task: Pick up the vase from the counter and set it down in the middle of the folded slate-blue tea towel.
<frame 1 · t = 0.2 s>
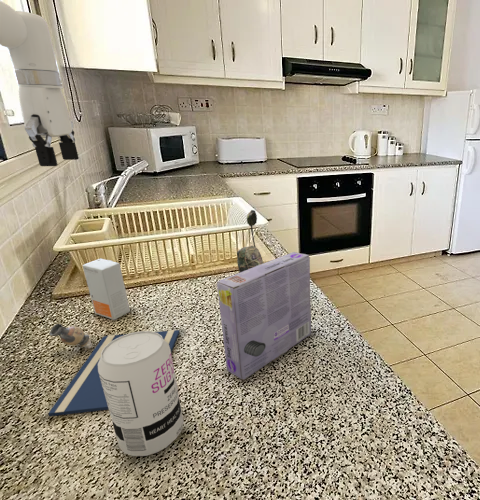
hand: (60, 162, 85), 30 cm above the countertop, tool pointing down, fingers open, 9 cm apart
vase: (74, 350, 70), on the countertop
cosmetic box: (113, 313, 83), on the countertop
towel: (124, 367, 66), on the countertop
plant with pod: (257, 289, 95), on the countertop
cake pan box: (274, 351, 72), on the countertop
supplement can: (153, 435, 53), on the countertop
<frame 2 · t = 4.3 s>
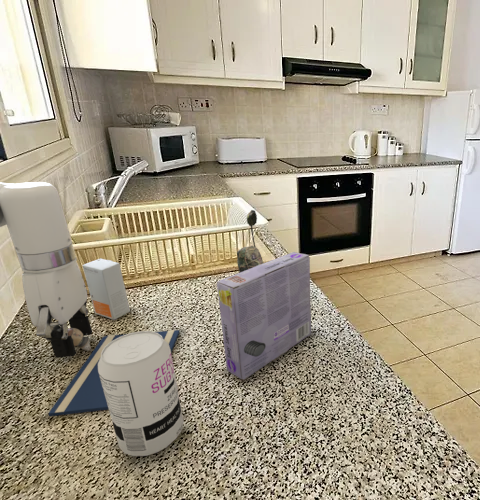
hand: (74, 344, 70), 1 cm above the countertop, tool pointing down, fingers closed on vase, 5 cm apart
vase: (73, 352, 70), on the countertop, touching gripper
everything else where it was.
when the fingers open (2 cm above the countertop, at t = 10.5 s): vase stays where it is, resting on towel.
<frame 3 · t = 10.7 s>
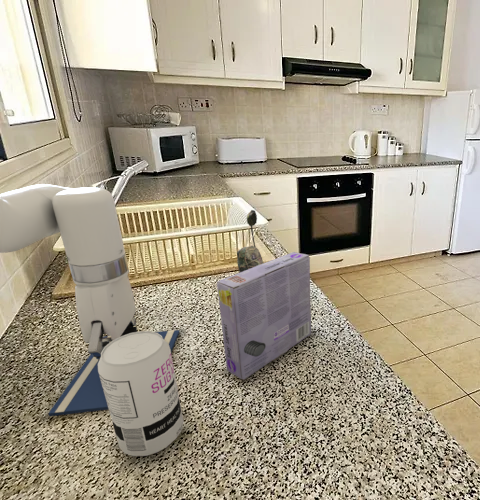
hand: (122, 359, 65), 2 cm above the countertop, tool pointing down, fingers open, 7 cm apart
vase: (121, 368, 65), resting on towel
everything else where it was.
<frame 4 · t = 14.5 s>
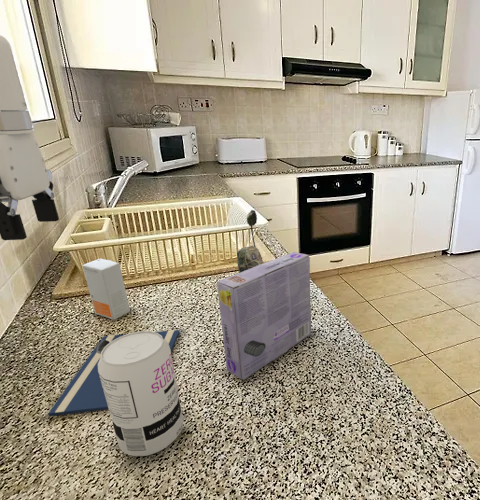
hand: (33, 229, 63), 23 cm above the countertop, tool pointing down, fingers open, 9 cm apart
nothing on the countertop moved.
at the end: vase inside the target area on the towel (0.7 cm from its centre), point 0.4 cm above the towel's base; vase touching towel; the gripper is holding nothing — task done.
